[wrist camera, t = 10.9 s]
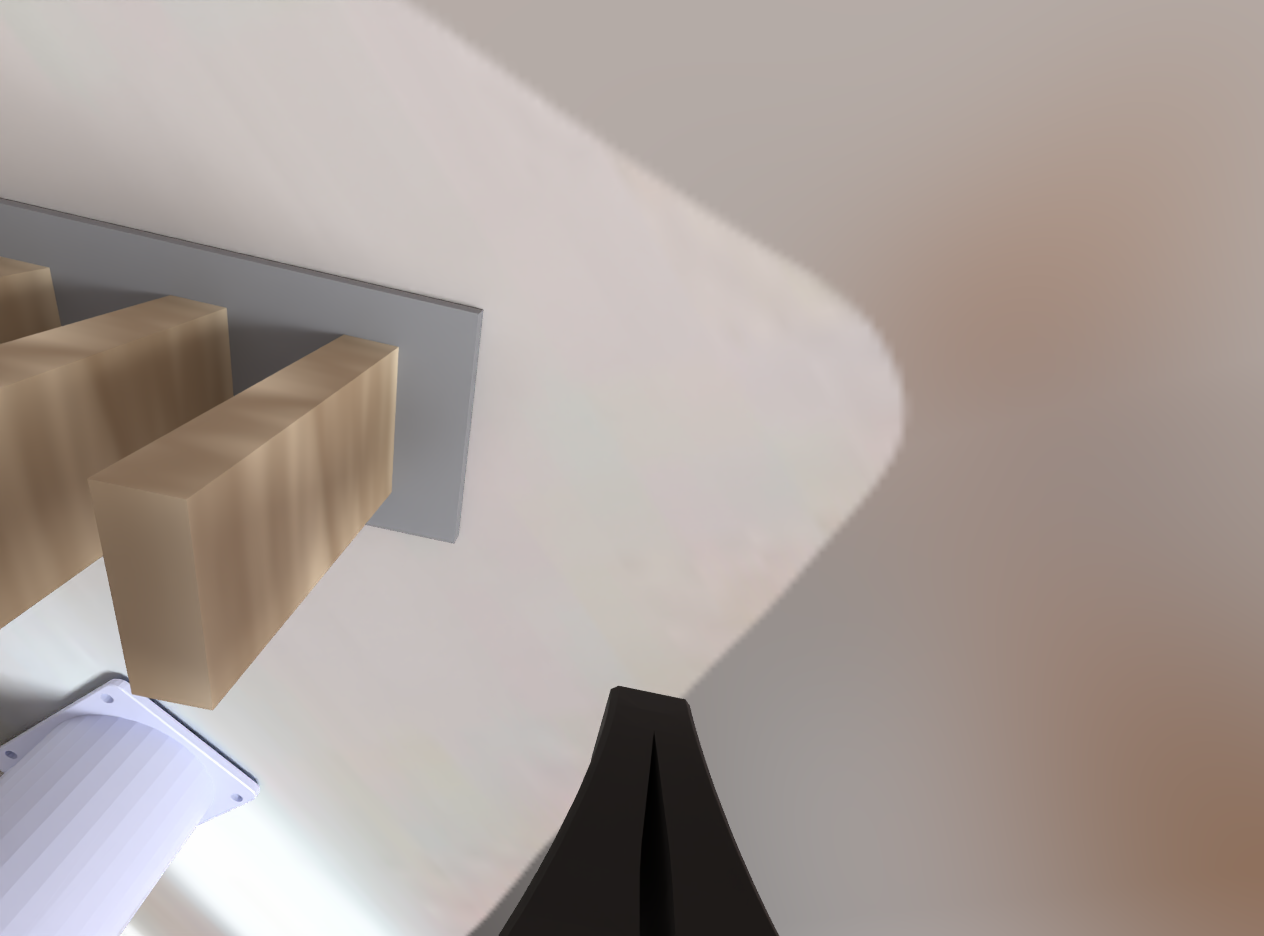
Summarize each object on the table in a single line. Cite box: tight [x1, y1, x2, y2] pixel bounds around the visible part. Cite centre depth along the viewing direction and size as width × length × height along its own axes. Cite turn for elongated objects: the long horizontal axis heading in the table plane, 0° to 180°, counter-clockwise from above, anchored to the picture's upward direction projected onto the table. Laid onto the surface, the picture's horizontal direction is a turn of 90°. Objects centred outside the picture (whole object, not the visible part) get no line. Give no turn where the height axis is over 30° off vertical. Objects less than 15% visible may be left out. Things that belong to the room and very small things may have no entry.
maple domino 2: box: [87, 335, 399, 710], centre depth 15 cm, size 2×5×9 cm, turn 168°
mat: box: [0, 198, 483, 543], centre depth 19 cm, size 26×8×1 cm, turn 78°
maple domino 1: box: [0, 295, 234, 629], centre depth 15 cm, size 2×5×9 cm, turn 167°
